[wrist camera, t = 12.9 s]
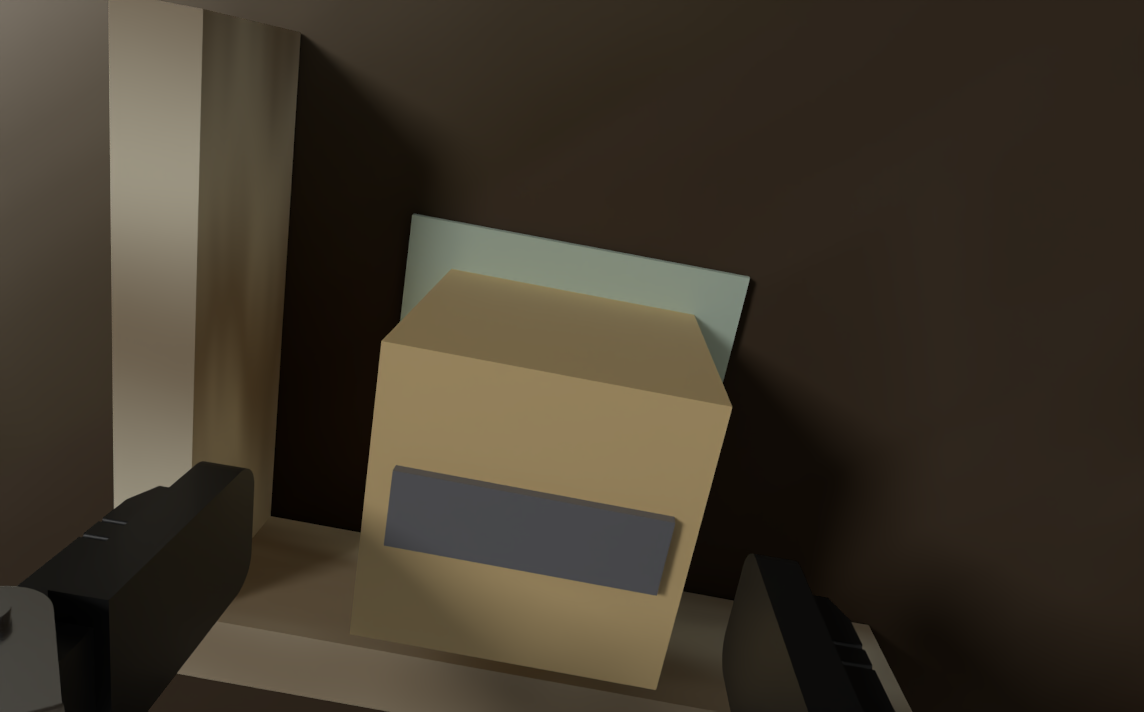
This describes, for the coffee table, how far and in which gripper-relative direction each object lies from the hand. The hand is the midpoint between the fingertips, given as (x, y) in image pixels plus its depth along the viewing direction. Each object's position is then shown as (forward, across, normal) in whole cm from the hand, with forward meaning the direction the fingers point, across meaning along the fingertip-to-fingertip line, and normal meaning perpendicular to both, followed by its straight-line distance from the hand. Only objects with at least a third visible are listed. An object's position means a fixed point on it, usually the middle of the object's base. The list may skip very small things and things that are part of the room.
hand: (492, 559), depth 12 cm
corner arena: (+6, 0, -2) cm, 6 cm away
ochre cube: (+6, 0, 0) cm, 6 cm away
